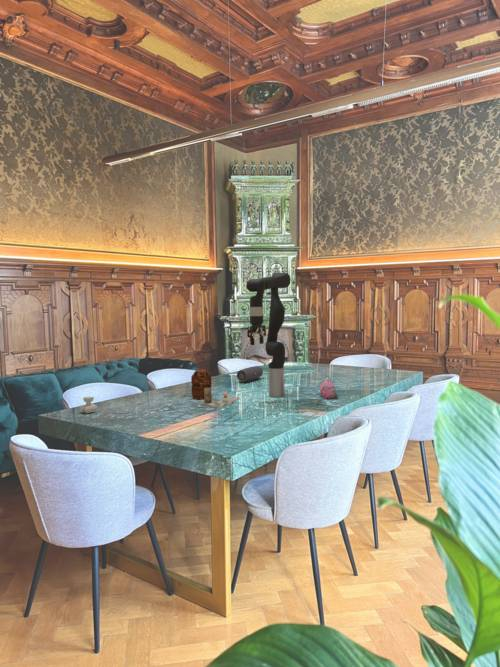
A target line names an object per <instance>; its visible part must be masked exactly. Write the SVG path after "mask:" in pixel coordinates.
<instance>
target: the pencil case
mask: <svg viewBox="0 0 500 667" xmlns="http://www.w3.org/2000/svg"><path fill="white" fill-rule="evenodd" d="M319 392H320V395H321V397H323V399H325V400H330V399H333V398H334V397H335V396H336V394H337V389H336V388H335V384H334V382H333V381H332V380H330V379H329V378H328V379H324V380H322V382H320V385H319ZM327 398H328V399H327Z"/></svg>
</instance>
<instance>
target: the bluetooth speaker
mask: <svg viewBox="0 0 500 667" xmlns="http://www.w3.org/2000/svg"><path fill="white" fill-rule="evenodd" d="M263 374H264V370H263V368H262V367H261V366H259V365H255V366H249V367H246V368H243V369H240V370H238V371H237V372H236V379H237V381H239V382H243V383H244V382H245V383H250V382H253V380H254V381H256V379H258V378H260V377H262V376H263Z"/></svg>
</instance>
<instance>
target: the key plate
mask: <svg viewBox="0 0 500 667" xmlns="http://www.w3.org/2000/svg"><path fill="white" fill-rule="evenodd" d="M220 399H223V400H229V401H234V402H236V401H238V400H239V401H240V399H241V398H240V396H233V395H228V392H227V391H226V392H225V391H224V392H223V397H220Z"/></svg>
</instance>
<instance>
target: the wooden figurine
mask: <svg viewBox="0 0 500 667" xmlns="http://www.w3.org/2000/svg"><path fill="white" fill-rule="evenodd" d="M190 379H191V380H190V381H191V396H192V397H191V398H192V400H196V401H197V400H200V401H201V400H204V388H211V389H212V384H213V383H212V375H211V373H210V372H208V371H207V370H206V369H205V368H197V369H196V370H195V371H194V372H193V374H192V375H191V377H190Z"/></svg>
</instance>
